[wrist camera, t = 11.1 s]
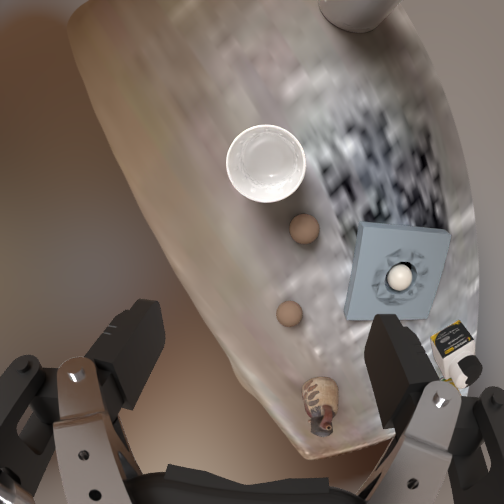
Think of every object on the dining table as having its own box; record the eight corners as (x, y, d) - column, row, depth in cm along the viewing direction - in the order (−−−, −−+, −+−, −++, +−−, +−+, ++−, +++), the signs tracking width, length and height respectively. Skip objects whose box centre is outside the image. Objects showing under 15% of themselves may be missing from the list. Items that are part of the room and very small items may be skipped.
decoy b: (277, 295, 44) (276, 309, 40) (303, 296, 44) (304, 310, 40) (275, 316, 46) (275, 331, 42) (300, 317, 45) (301, 332, 42)
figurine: (296, 394, 53) (296, 442, 42) (311, 372, 50) (315, 423, 39) (326, 400, 53) (331, 446, 42) (343, 379, 50) (352, 427, 39)
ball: (386, 259, 40) (395, 270, 36) (409, 260, 40) (418, 271, 36) (381, 282, 42) (389, 295, 38) (403, 283, 41) (412, 295, 38)
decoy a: (289, 209, 39) (290, 217, 35) (318, 211, 38) (322, 219, 35) (288, 237, 40) (288, 247, 37) (316, 238, 40) (319, 249, 36)
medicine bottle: (458, 318, 43) (487, 357, 32) (461, 341, 45) (485, 379, 34) (429, 335, 45) (453, 378, 34) (433, 357, 47) (454, 398, 36)
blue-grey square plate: (359, 221, 38) (363, 226, 36) (443, 229, 37) (451, 234, 35) (343, 311, 44) (346, 320, 42) (421, 311, 43) (427, 318, 41)
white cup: (311, 163, 36) (321, 172, 27) (264, 198, 39) (259, 217, 29) (274, 117, 34) (272, 109, 25) (227, 153, 37) (210, 158, 27)
